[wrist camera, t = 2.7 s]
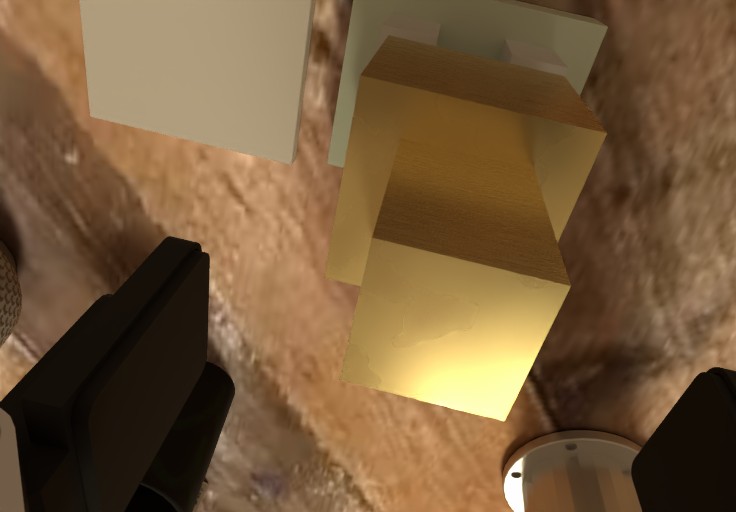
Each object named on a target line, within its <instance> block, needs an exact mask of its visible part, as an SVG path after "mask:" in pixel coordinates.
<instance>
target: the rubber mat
mask: <svg viewBox="0 0 736 512" xmlns="http://www.w3.org/2000/svg"><path fill="white" fill-rule="evenodd" d="M314 7H315V0H80V11H81V22H82V32H83V43H84V54H85V64H86V75H87V85H88V96H89V107H90V117H94V118H99V119H103V120H107V121H111V122H115V123H119V124H123V125H128V126H132V127H136V128H140V129H144V130H148V131H153V132H157V133H161V134H165V135H169V136H173V137H177V138H182V139H186V140H190V141H194V142H198V143H202V144H207V145H211V146H215V147H219V148H223V149H227V150H231V151H236V152H240V153H244V154H248V155H252V156H256V157H261V158H265V159H269V160H273V161H277V162H281V163H285V164H290V165H292V163H293V162H294V161H295V159H296V151H297V143H298V135H299V127H300V119H301V111H302V103H303V95H304V87H305V79H306V71H307V63H308V55H309V47H310V39H311V31H312V23H313V15H314Z"/></svg>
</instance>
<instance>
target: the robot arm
mask: <svg viewBox="0 0 736 512" xmlns="http://www.w3.org/2000/svg"><path fill="white" fill-rule="evenodd" d="M209 268H210V257H209V254H208V253H205V252H202V249H201V245H200V244H199V243H197V242H192V241H188V240H184V239H180V238H176V237H171V236H170V237H167V238H166V239H164V240H163V241H162V243H161V244H160V245H159V246H158V247H157V248H156V249H155V250H154V251H153V252H152V253H151V255H150V256H149V257H148V258H147V259H146V260H145V261H144V262H143V263H142V264H141V265H140V267H139V268H138V269H137V270H136V271H135V272H134V273H133V274H132V275H131V276H130V277H129V279H128V280H127V281H126V282H125V283H124V284H123V285H122V286H121V287H120V288H119V289H118V291H117V292H116V293H115V294H114V295H112V294H106V295H103V296H102V297H100V298H99V299H98V300H97V301H96V302H95V303H94V304H93V305H92V306H91V307H90V308H89V309H88V310H87V311H86V312H85V313H84V314H83V315H82V316H81V317H80V318H79V319H78V321H77V322H76V323H75V324H74V325H73V326H72V327H71V328H70V329H69V330H68V331H67V332H66V333H65V334H64V335H63V336H62V337H61V338H60V340H59V341H58V342H57V343H56V344H55V345H54V346H53V347H52V348H51V349H50V350H49V351H48V352H47V353H46V354H45V355H44V356H43V357H42V358H41V360H40V361H39V362H38V363H37V364H36V365H35V366H34V367H33V368H32V369H31V370H30V371H29V372H28V373H27V374H26V375H25V376H24V377H23V378H22V380H21V381H20V382H19V383H18V384H17V385H16V386H15V387H14V388H13V389H12V390H11V391H10V392H9V393H8V394H7V395H6V396H5V397H4V399H3V400H2V401H1V402H0V512H124V511H125V509H126V507H127V505H128V504H129V502H130V500H131V498H132V496H133V495H134V493H135V491H136V489H137V488H138V486H139V484H140V482H141V480H142V479H143V477H144V475H145V473H146V472H147V470H148V468H149V466H150V464H151V463H152V461H153V459H154V457H155V456H156V454H157V452H158V450H159V449H160V447H161V445H162V443H163V441H164V440H165V438H166V436H167V434H168V433H169V431H170V429H171V427H172V425H173V424H174V422H175V420H176V418H177V417H178V415H179V413H180V411H181V409H182V408H183V406H184V404H185V402H186V401H187V399H188V397H189V395H190V393H191V392H192V390H193V388H194V386H195V385H196V383H197V381H198V379H199V377H200V376H201V374H202V372H203V369H204V367H205V363H206V359H207V339H208V304H209ZM502 477H503V491H504V496H505V498H506V500H507V503H508V505H509V506H510V507H511V508H512V509H513V511H514V512H736V371H732V370H728V369H724V368H720V367H714V368H711V369H709V370H708V371H707V372H702V373H700V374H698V375H697V376H696V378H695V379H694V380H693V382H692V383H691V384H690V386H689V387H688V388H687V390H686V391H685V392H684V394H683V395H682V396H681V397H680V399H679V400H678V401H677V403H676V404H675V405H674V407H673V408H672V409H671V411H670V412H669V413H668V415H667V416H666V417H665V419H664V420H663V421H662V423H661V424H660V425H659V427H658V428H657V429H656V431H655V432H654V433H653V435H652V436H651V437H650V438H649V440H648V441H647V442H646V444H645V445H644V446H643V448H642V447H640V446H639V445H637V444H636V443H634V442H632V441H630V440H628V439H625V438H623V437H620V436H618V435H614V434H610V433H606V432H600V431H591V430H570V431H563V432H556V433H552V434H549V435H545V436H542V437H539V438H537V439H535V440H533V441H530V442H528V443H527V444H525V445H524V446H522V447H521V448H519V449H518V450H517V451H516V452H515V453H514V454H513V455H512V456H511V457H510V458H509V460H508V462H507V463H506V465H505V467H504V471H503V474H502Z"/></svg>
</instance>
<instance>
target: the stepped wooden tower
mask: <svg viewBox="0 0 736 512" xmlns="http://www.w3.org/2000/svg"><path fill="white" fill-rule="evenodd" d="M606 135H607V132H606V131H605V130H604V128H603V127H602V126H601V124H600V123H599V122H598V120H597V119H596V118H595V116H594V115H593V114H592V112H591V111H590V110H589V108H588V107H587V105H586V104H585V103H584V101H583V100H582V99H581V97H580V96H579V95H578V93H577V92H576V91H575V89H574V88H573V87H572V85H571V84H570V83H569V81H568V80H567V79H566V77H565V76H562V75H558V74H554V73H549V72H545V71H541V70H537V69H532V68H528V67H524V66H519V65H515V64H511V63H507V62H502V61H498V60H494V59H489V58H485V57H481V56H477V55H472V54H468V53H464V52H459V51H455V50H451V49H447V48H442V47H438V46H434V45H429V44H425V43H421V42H417V41H412V40H408V39H404V38H399V37H395V36H391V35H388V37H387V38H386V39H385V41H384V42H383V44H382V45H381V46H380V48H379V49H378V51H377V52H376V54H375V55H374V56H373V58H372V59H371V61H370V62H369V63H368V65H367V66H366V68H365V69H364V70H363V72H362V73H361V75H360V79H359V84H358V90H357V95H356V101H355V107H354V112H353V118H352V123H351V129H350V134H349V140H348V146H347V151H346V157H345V162H344V168H343V174H342V179H341V185H340V190H339V196H338V202H337V207H336V213H335V218H334V224H333V229H332V235H331V241H330V246H329V252H328V257H327V263H326V269H325V274H324V278H328V279H332V280H336V281H340V282H345V283H349V284H353V285H357V286H361V288H360V292H359V296H358V301H357V305H356V310H355V314H354V318H353V323H352V327H351V332H350V336H349V340H348V345H347V349H346V354H345V358H344V362H343V367H342V371H341V376H340V380H341V381H345V382H349V383H353V384H357V385H361V386H365V387H369V388H373V389H377V390H381V391H385V392H389V393H393V394H397V395H401V396H405V397H409V398H413V399H417V400H421V401H425V402H429V403H433V404H437V405H441V406H445V407H449V408H453V409H457V410H461V411H465V412H469V413H473V414H477V415H481V416H485V417H489V418H493V419H497V420H501V421H505V419H506V417H507V415H508V413H509V411H510V409H511V407H512V405H513V403H514V401H515V399H516V397H517V395H518V393H519V391H520V389H521V387H522V385H523V383H524V381H525V379H526V377H527V375H528V373H529V371H530V369H531V367H532V364H533V362H534V360H535V358H536V356H537V354H538V352H539V350H540V348H541V346H542V344H543V342H544V340H545V338H546V336H547V334H548V332H549V330H550V328H551V326H552V324H553V322H554V320H555V318H556V316H557V314H558V312H559V310H560V308H561V306H562V304H563V302H564V300H565V298H566V296H567V294H568V291H569V289H570V287H571V284H570V281H569V278H568V275H567V271H566V268H565V265H564V262H563V259H562V256H561V252H560V249H559V246H558V241H559V239H560V237H561V235H562V233H563V230H564V228H565V226H566V224H567V221H568V219H569V217H570V215H571V213H572V210H573V208H574V206H575V204H576V202H577V199H578V197H579V195H580V193H581V190H582V188H583V186H584V184H585V182H586V179H587V177H588V175H589V173H590V171H591V168H592V166H593V164H594V162H595V159H596V157H597V155H598V153H599V151H600V148H601V146H602V144H603V142H604V140H605V137H606Z"/></svg>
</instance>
